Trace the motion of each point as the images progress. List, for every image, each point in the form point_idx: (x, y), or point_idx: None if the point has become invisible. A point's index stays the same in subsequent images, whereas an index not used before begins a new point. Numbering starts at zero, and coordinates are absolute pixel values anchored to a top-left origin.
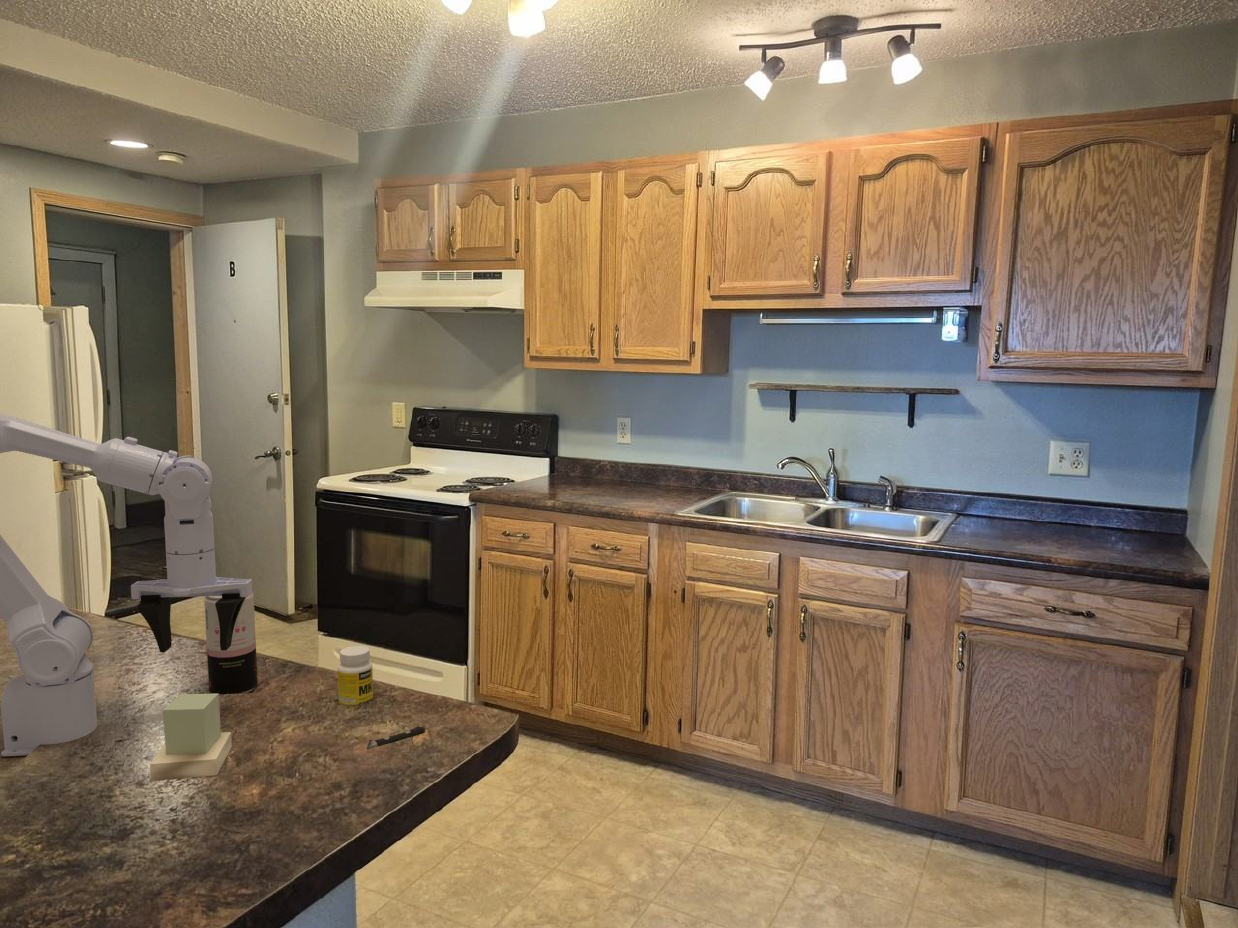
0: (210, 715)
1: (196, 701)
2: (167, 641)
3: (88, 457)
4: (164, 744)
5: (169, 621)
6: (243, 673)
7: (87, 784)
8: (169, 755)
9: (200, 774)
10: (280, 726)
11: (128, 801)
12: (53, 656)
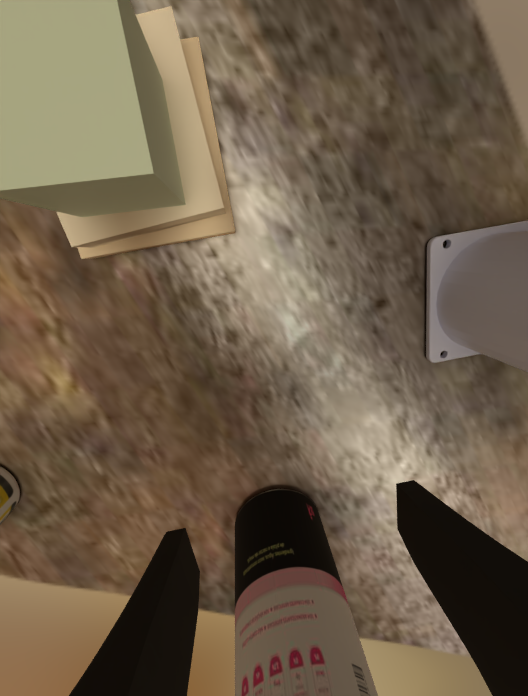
0: None
1: (10, 77)
2: (416, 535)
3: None
4: (206, 151)
5: (478, 661)
6: (244, 541)
7: (349, 97)
8: None
9: None
10: (89, 392)
11: (211, 5)
12: None
